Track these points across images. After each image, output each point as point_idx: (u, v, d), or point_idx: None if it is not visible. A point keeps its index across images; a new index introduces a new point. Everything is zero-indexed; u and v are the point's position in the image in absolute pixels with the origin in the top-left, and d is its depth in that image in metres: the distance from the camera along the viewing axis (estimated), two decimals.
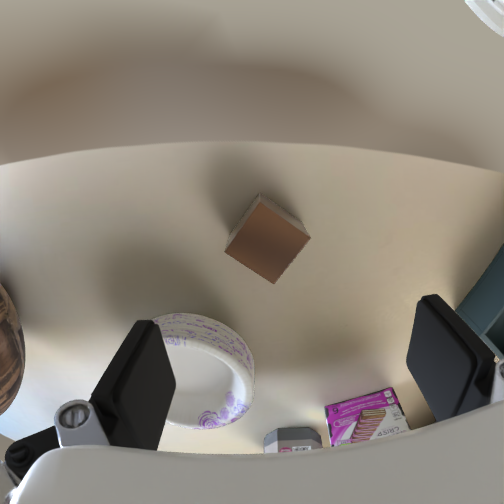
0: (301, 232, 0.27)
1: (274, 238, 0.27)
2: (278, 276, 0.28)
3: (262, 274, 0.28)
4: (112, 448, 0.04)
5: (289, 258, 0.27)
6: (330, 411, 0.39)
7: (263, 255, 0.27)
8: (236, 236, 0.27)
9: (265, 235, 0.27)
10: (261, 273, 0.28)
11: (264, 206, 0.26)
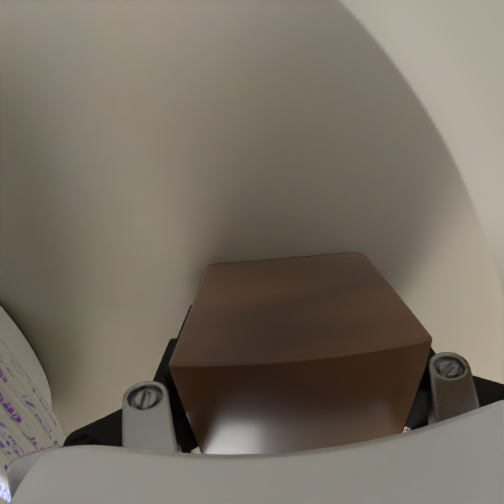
0: None
1: (339, 438, 0.06)
2: None
3: None
4: (112, 448, 0.04)
5: None
6: None
7: (268, 448, 0.07)
8: (260, 366, 0.06)
9: (332, 420, 0.06)
10: None
11: (424, 358, 0.06)
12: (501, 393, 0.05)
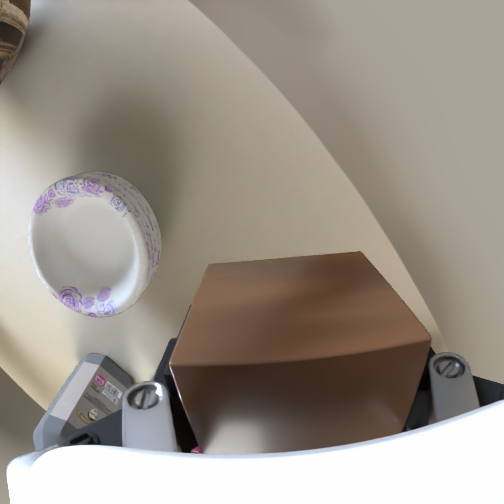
0: None
1: (339, 437, 0.06)
2: None
3: None
4: (112, 448, 0.04)
5: None
6: None
7: (268, 447, 0.07)
8: (259, 364, 0.06)
9: (331, 419, 0.06)
10: None
11: (424, 357, 0.06)
12: (501, 393, 0.05)
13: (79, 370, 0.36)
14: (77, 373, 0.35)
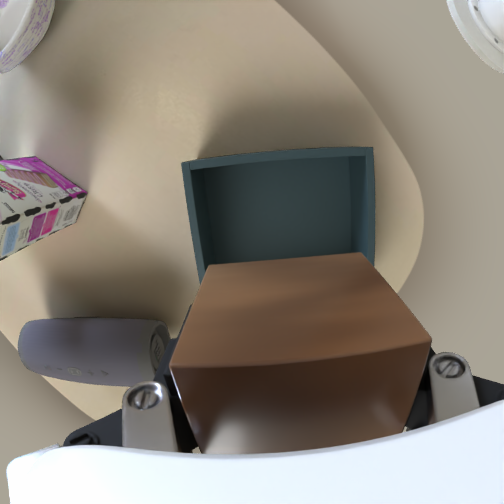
0: None
1: (339, 439, 0.06)
2: None
3: None
4: (112, 448, 0.04)
5: None
6: (31, 158, 0.31)
7: (269, 448, 0.07)
8: (260, 366, 0.06)
9: (332, 421, 0.06)
10: None
11: (424, 359, 0.06)
12: (501, 393, 0.05)
13: None
14: None
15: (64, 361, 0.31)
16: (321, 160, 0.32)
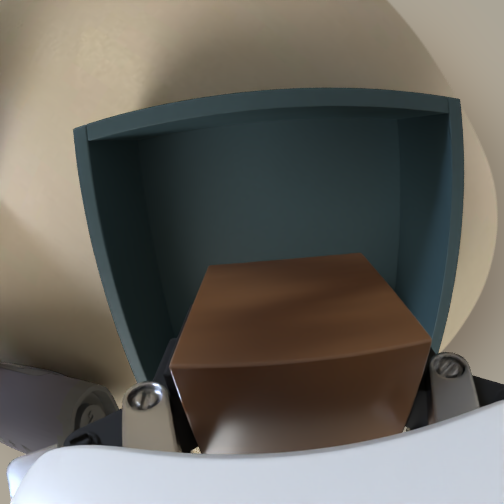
0: None
1: (339, 439, 0.06)
2: None
3: None
4: (112, 448, 0.04)
5: None
6: None
7: (268, 449, 0.07)
8: (260, 367, 0.06)
9: (332, 421, 0.06)
10: None
11: (424, 359, 0.06)
12: (501, 393, 0.05)
13: None
14: None
15: None
16: (351, 128, 0.16)
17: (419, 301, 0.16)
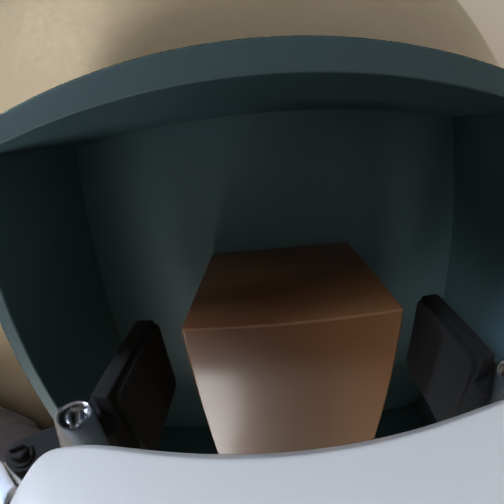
0: (377, 423, 0.08)
1: (327, 402, 0.08)
2: (243, 452, 0.09)
3: (216, 432, 0.08)
4: (112, 448, 0.04)
5: (301, 445, 0.09)
6: None
7: (265, 411, 0.08)
8: (257, 329, 0.07)
9: (320, 383, 0.08)
10: (217, 429, 0.08)
11: (398, 327, 0.07)
12: None
13: None
14: None
15: None
16: (392, 125, 0.10)
17: None
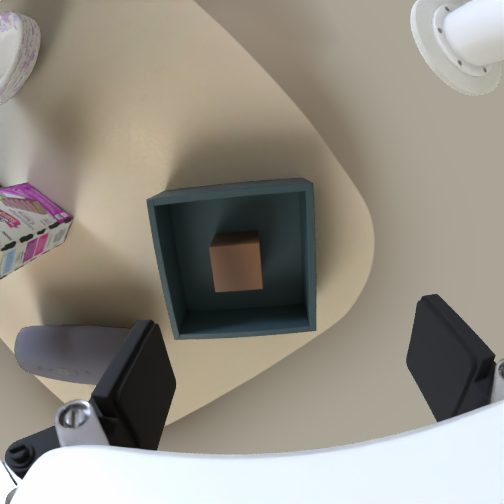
0: (261, 281, 0.35)
1: (244, 269, 0.34)
2: (223, 290, 0.35)
3: (215, 281, 0.35)
4: (112, 448, 0.04)
5: (239, 287, 0.35)
6: (24, 185, 0.35)
7: (228, 271, 0.34)
8: (225, 246, 0.33)
9: (241, 262, 0.34)
10: (215, 279, 0.35)
11: (258, 247, 0.33)
12: None
13: None
14: None
15: (54, 363, 0.36)
16: None
17: (306, 276, 0.36)
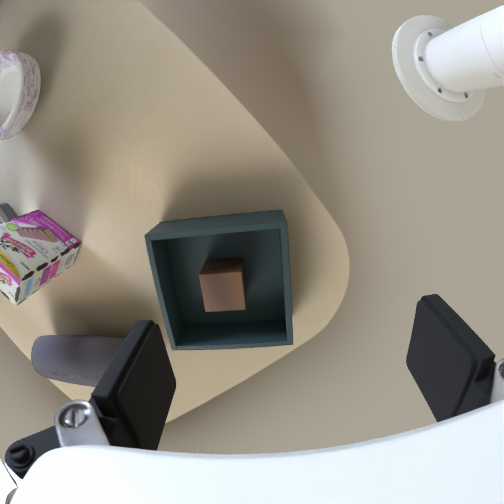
0: (244, 303, 0.40)
1: (229, 293, 0.40)
2: (211, 310, 0.41)
3: (205, 302, 0.40)
4: (112, 448, 0.04)
5: (226, 308, 0.40)
6: (35, 212, 0.41)
7: (216, 295, 0.40)
8: (212, 274, 0.39)
9: (226, 287, 0.39)
10: (205, 301, 0.40)
11: (241, 275, 0.39)
12: None
13: None
14: None
15: (68, 369, 0.42)
16: None
17: (284, 298, 0.42)
